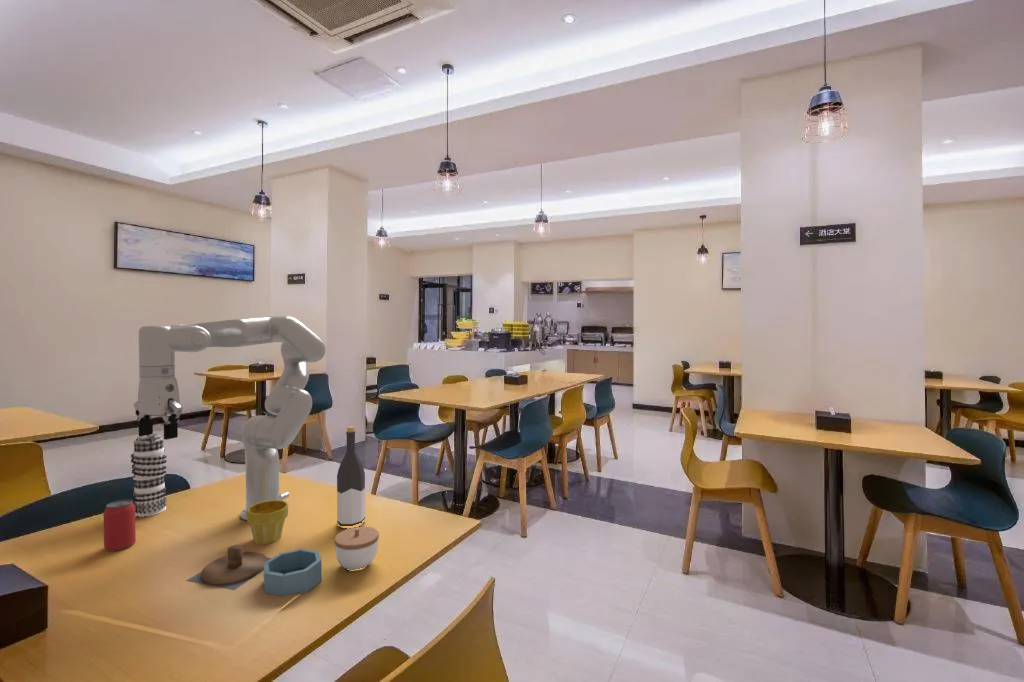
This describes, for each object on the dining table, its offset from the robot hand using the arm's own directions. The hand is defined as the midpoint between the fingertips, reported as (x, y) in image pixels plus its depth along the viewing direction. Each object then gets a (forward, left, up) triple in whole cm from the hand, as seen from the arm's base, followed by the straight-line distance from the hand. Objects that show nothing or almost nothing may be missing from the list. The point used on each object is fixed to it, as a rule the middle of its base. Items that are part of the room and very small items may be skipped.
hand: (158, 436), depth 122 cm
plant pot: (-14, +22, -31) cm, 41 cm away
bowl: (+2, +44, -31) cm, 54 cm away
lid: (+2, +27, -31) cm, 41 cm away
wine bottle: (-30, +38, -31) cm, 58 cm away
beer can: (0, -14, -31) cm, 34 cm away
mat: (+2, +27, -31) cm, 41 cm away
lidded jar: (-9, +54, -31) cm, 63 cm away
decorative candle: (-20, -30, -31) cm, 47 cm away
